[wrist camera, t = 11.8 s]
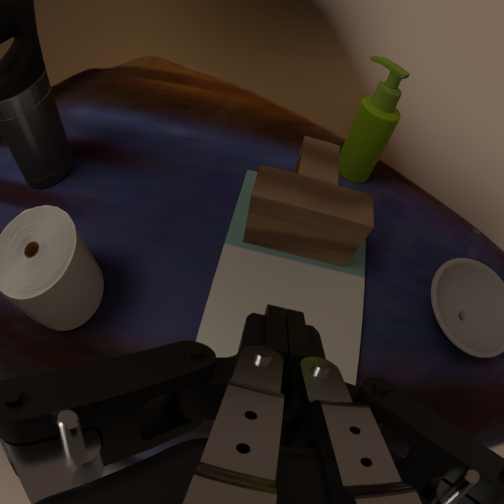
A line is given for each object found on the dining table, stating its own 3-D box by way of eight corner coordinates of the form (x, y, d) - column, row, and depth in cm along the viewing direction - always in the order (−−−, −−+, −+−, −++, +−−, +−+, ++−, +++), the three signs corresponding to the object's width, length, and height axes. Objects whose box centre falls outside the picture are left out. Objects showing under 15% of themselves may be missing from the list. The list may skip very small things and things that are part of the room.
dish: (489, 283, 42) (508, 269, 38) (498, 367, 35) (521, 358, 31) (408, 264, 42) (426, 246, 38) (411, 364, 35) (434, 354, 30)
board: (347, 415, 31) (351, 414, 30) (185, 383, 31) (184, 382, 30) (363, 204, 46) (365, 200, 46) (246, 174, 47) (247, 169, 46)
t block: (344, 267, 39) (373, 227, 32) (242, 241, 40) (251, 194, 32) (347, 199, 45) (370, 155, 38) (261, 176, 45) (271, 127, 38)
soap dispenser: (343, 149, 52) (383, 51, 35) (374, 173, 50) (425, 77, 33) (323, 161, 50) (363, 55, 33) (356, 188, 48) (409, 83, 31)
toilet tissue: (121, 290, 36) (96, 246, 27) (52, 357, 30) (7, 332, 22) (75, 237, 38) (48, 189, 30) (12, 295, 33) (-29, 258, 24)
